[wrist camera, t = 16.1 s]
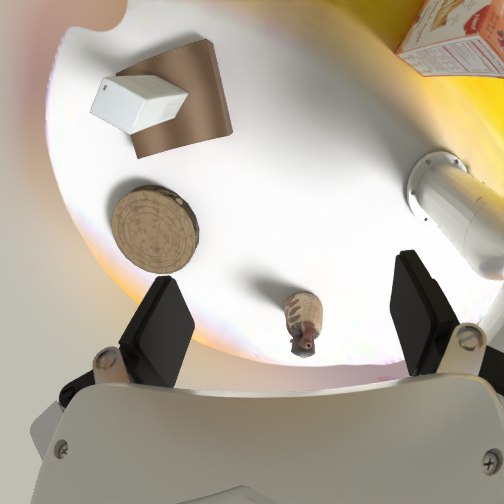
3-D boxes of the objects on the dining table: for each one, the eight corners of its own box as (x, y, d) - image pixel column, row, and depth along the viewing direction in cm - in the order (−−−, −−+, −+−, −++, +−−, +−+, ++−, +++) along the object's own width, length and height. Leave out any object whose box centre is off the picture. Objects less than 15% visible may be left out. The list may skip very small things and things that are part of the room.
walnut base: (213, 44, 30) (206, 39, 26) (233, 131, 37) (228, 135, 33) (129, 74, 32) (115, 73, 29) (149, 153, 39) (137, 159, 36)
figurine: (279, 313, 53) (276, 362, 43) (292, 287, 49) (292, 337, 39) (312, 322, 53) (315, 370, 43) (328, 297, 50) (334, 347, 39)
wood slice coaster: (106, 201, 45) (97, 208, 42) (176, 170, 40) (169, 176, 38) (144, 271, 52) (138, 280, 50) (214, 255, 48) (210, 264, 45)
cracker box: (423, -4, 19) (502, -40, 1) (453, 21, 20) (541, 5, 2) (390, 53, 26) (477, 30, 9) (423, 78, 27) (520, 83, 10)
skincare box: (141, 100, 31) (87, 112, 21) (155, 74, 29) (102, 75, 19) (175, 119, 33) (129, 136, 23) (190, 93, 30) (147, 98, 21)
